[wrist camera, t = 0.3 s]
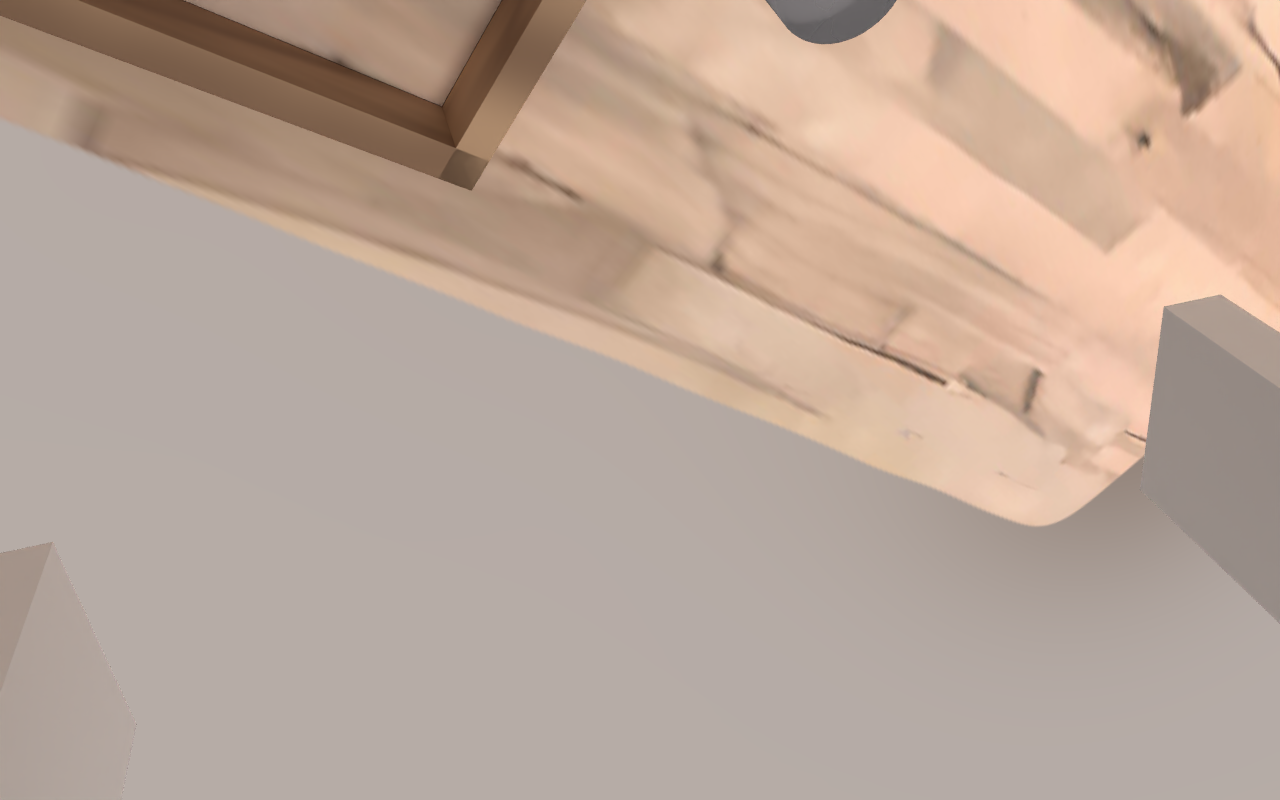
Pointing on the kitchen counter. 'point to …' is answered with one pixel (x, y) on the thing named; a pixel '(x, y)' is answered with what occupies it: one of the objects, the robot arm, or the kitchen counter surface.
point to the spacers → (830, 17)
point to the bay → (326, 75)
